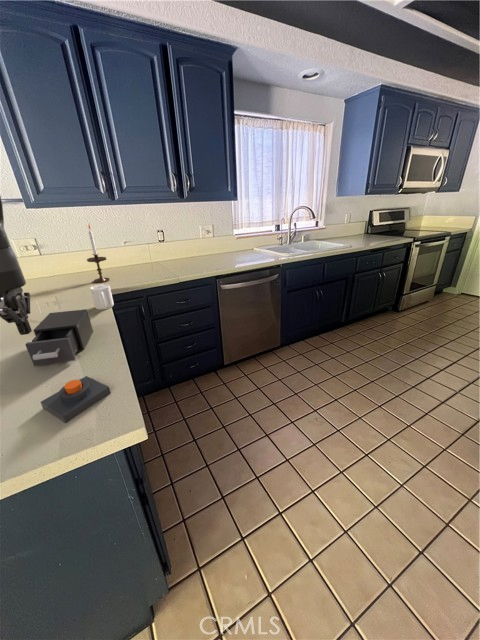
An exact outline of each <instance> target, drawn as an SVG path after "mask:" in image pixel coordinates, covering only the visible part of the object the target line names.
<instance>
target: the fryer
mask: <svg viewBox="0 0 480 640" xmlns="http://www.w3.org/2000/svg"><path fill="white" fill-rule="evenodd" d="M74 327H75V330H76V333H77V337H78V340H79V343H80V346H79V348H78V350H77V352H78V351H84V350H85V349H86V348H87V345H88V343H89V340H90V339H91V337H92V335H93V333H94V329H93V326H92V322H91V318H90V314H89V311H88V308H86V309H84V308H83V309H75V310H66V311H56V312H49V313H48V314H47V316H45V317H44V318H43V319H42V321H40V322H39V324H37V325H36V326H35V328H34V329H33V332H34V337H35V336H36V335H37V334H38V333H39V332H40V331H48V330H57V329H65V328H74Z"/></svg>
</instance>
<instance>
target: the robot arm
mask: <svg viewBox="0 0 480 640" xmlns="http://www.w3.org/2000/svg"><path fill="white" fill-rule="evenodd" d="M4 216H5V215H4V208H3V200H2V196H1V195H0V318H1V319H2V320H4V321H6V323H8V324H12V323H14V324H15V326H16V329H17V331H18V334H19V335H21V336H24V335H30V333H31V332H32V331H33V330H32V328H31V325H30V322H29V315H30V314H31V293H30V292H28V291H26V292H24V289H23V288H22V287H25V285H26V284H27V281H26V279H25V276H24V273H23V270H22V268H21V266H20V262H19V260H18V256H17V255H16V253H15V251H14V250H13V248H12V245H11V242H10V240H9V237H8V234H7V231H6V229H5V217H4Z"/></svg>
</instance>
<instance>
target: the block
mask: <svg viewBox="0 0 480 640" xmlns="http://www.w3.org/2000/svg"><path fill="white" fill-rule="evenodd" d="M79 380H80V381H81V384H82V389H81V390H80V391H78V392H76V393H73V394H67V393H66V391H65V388H64V386H65V385H63V387H61V388H60V390H58V391H57V392H55V393H53V394H52V395H50V396H48V397H46V398H45V399H43V400H41V401H40V404H41V407H42V409H43V410H45V412H47V413H49V414H50V415H52V416H54V417H55V418H57V419H58V420H60V421H61V422H63V423H64V424H68V423H69V422H70V421H72V420H74V419H75V418H76V417H78V416H79V415H81V414H82V413H84V412H86V411H87V410H88V409H90V408H91V407H93V406H95V404H97V403H99V402H100V401H102V400H104V398H106V397H108V396H109V395H111V394H112V393H111V389H110V387H109V385H105V384H104V383H102V382H100V381H98V380H96V379H94V378H92V377H90V376H87V375H85V376H84V377H82V378H79Z"/></svg>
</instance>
